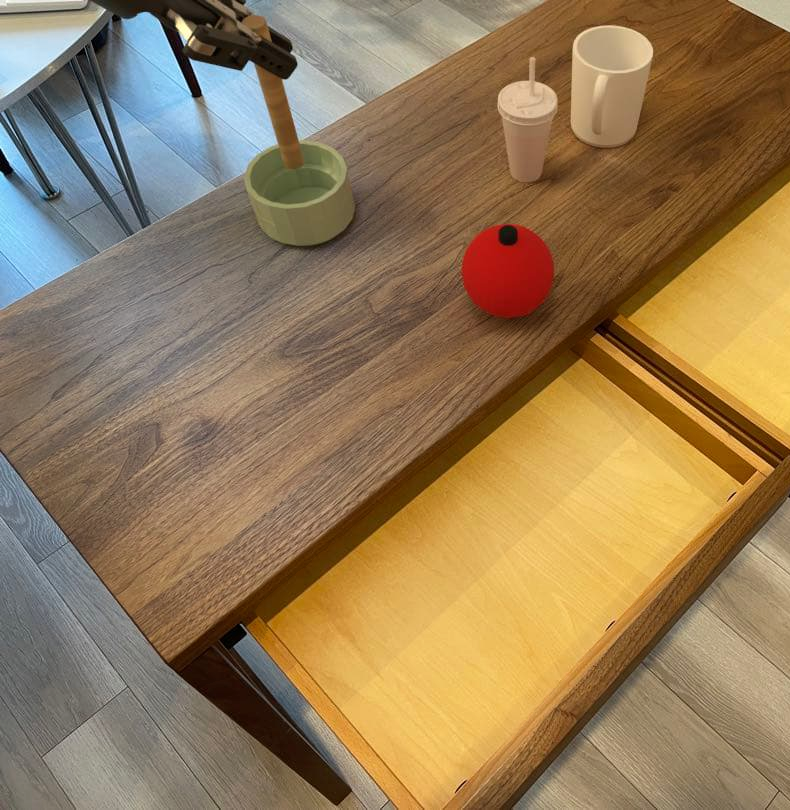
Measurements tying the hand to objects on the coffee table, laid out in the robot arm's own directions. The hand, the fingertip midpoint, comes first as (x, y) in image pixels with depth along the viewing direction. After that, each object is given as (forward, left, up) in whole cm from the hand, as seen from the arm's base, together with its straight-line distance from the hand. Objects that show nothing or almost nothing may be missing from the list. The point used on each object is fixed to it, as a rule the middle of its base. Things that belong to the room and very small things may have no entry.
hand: (289, 61), depth 70 cm
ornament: (+15, -18, -18) cm, 30 cm away
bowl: (-2, 0, -18) cm, 18 cm away
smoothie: (+23, 0, -18) cm, 29 cm away
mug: (+34, +4, -18) cm, 39 cm away
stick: (-2, 0, -11) cm, 11 cm away
